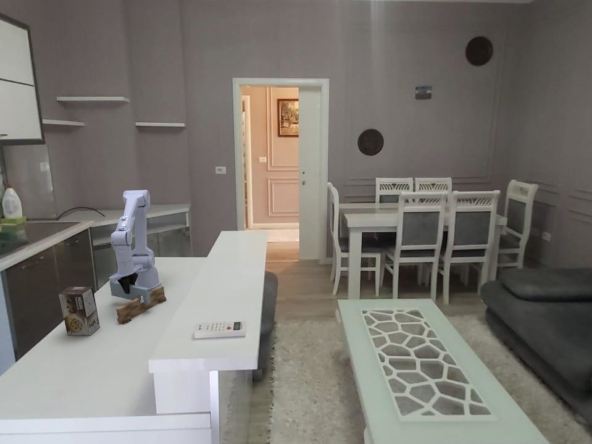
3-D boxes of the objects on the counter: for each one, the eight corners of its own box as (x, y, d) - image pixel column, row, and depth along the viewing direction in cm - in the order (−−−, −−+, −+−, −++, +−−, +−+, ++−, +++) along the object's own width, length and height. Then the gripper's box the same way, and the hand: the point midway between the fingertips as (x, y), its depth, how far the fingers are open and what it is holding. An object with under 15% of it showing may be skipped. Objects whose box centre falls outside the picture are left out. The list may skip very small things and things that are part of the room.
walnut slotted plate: (160, 298, 163) (158, 285, 162) (167, 299, 162) (165, 286, 160) (116, 322, 144) (114, 308, 143) (123, 324, 143) (121, 310, 141)
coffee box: (100, 326, 142) (94, 286, 138) (90, 336, 136) (82, 294, 132) (77, 325, 143) (70, 285, 139) (66, 335, 137) (57, 293, 132)
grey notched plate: (111, 295, 158) (109, 281, 157) (114, 293, 160) (112, 280, 158) (147, 304, 150) (145, 289, 148) (150, 302, 151) (148, 288, 150)
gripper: (132, 253, 159) (136, 283, 162) (101, 265, 146) (106, 298, 150) (144, 255, 156) (148, 286, 159) (114, 268, 143) (119, 301, 147)
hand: (129, 292), depth 154 cm, fingers closed on grey notched plate, 2 cm apart
